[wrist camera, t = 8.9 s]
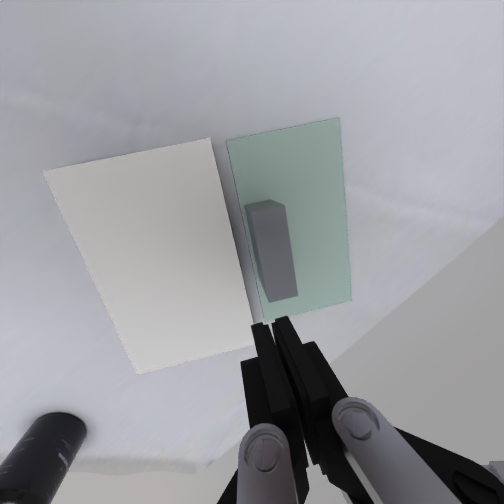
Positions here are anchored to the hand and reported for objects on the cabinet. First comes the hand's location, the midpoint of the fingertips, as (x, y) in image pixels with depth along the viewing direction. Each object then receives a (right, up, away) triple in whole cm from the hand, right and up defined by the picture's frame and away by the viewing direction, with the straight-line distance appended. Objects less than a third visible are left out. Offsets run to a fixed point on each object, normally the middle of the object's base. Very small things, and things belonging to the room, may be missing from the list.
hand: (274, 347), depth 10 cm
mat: (+4, +7, +17) cm, 19 cm away
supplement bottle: (-27, -20, +22) cm, 40 cm away
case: (-1, +4, +14) cm, 15 cm away
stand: (-10, +3, +17) cm, 19 cm away
